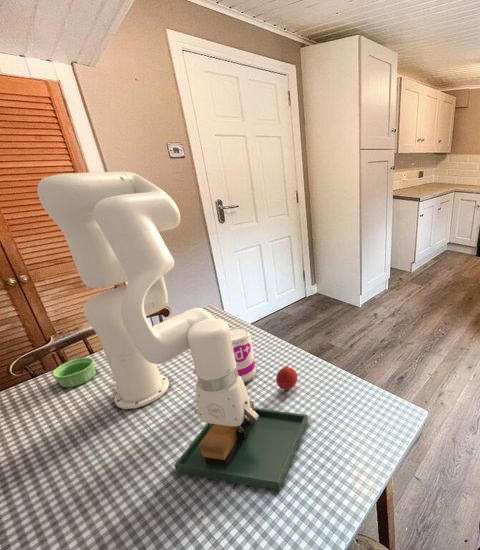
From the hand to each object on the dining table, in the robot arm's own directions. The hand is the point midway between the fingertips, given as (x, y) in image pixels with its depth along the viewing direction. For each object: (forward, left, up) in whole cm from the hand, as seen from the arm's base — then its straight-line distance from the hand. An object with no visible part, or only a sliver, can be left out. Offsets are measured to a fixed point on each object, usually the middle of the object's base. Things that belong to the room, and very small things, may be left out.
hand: (231, 437), depth 70 cm
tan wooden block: (0, 0, -1) cm, 1 cm away
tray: (+4, 0, -2) cm, 4 cm away
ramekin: (-58, +13, -2) cm, 60 cm away
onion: (+6, +19, -2) cm, 20 cm away
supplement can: (-10, +22, -2) cm, 24 cm away
